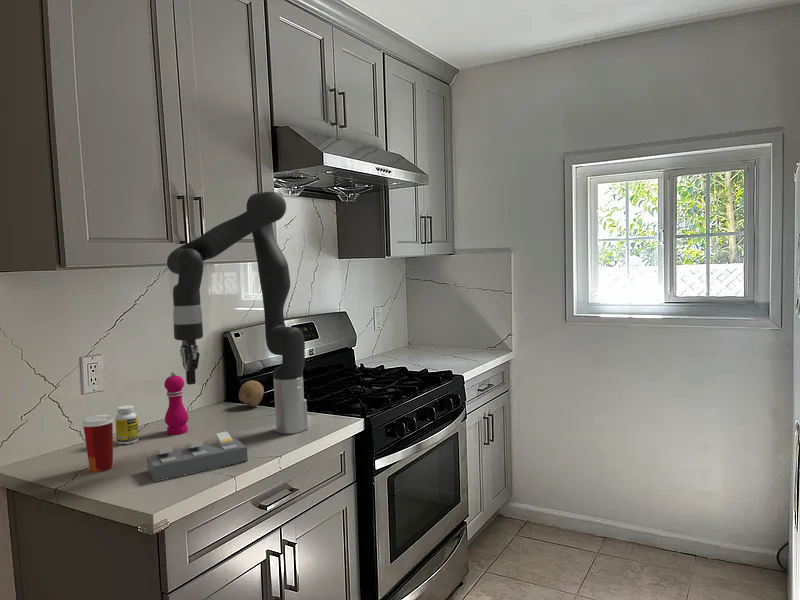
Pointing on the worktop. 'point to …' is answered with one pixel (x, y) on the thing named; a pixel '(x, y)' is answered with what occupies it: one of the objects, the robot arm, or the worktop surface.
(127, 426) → the pill bottle
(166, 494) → the worktop surface
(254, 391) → the brown potato
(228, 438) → the rocker
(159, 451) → the rocker
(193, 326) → the robot arm
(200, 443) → the rocker middle
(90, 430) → the paper cup
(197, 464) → the rocker switch box
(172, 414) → the pepper mill
